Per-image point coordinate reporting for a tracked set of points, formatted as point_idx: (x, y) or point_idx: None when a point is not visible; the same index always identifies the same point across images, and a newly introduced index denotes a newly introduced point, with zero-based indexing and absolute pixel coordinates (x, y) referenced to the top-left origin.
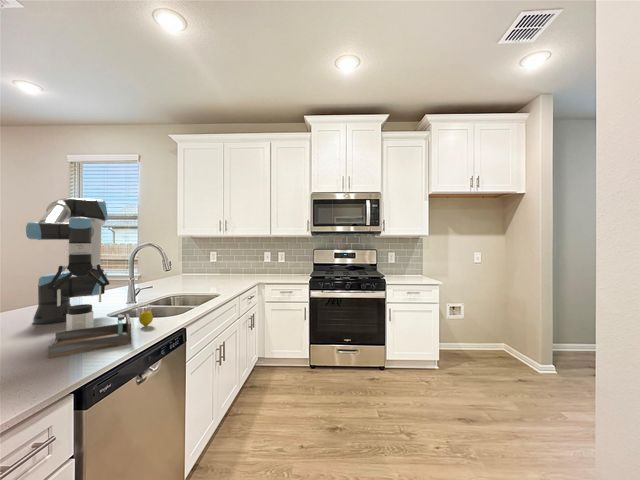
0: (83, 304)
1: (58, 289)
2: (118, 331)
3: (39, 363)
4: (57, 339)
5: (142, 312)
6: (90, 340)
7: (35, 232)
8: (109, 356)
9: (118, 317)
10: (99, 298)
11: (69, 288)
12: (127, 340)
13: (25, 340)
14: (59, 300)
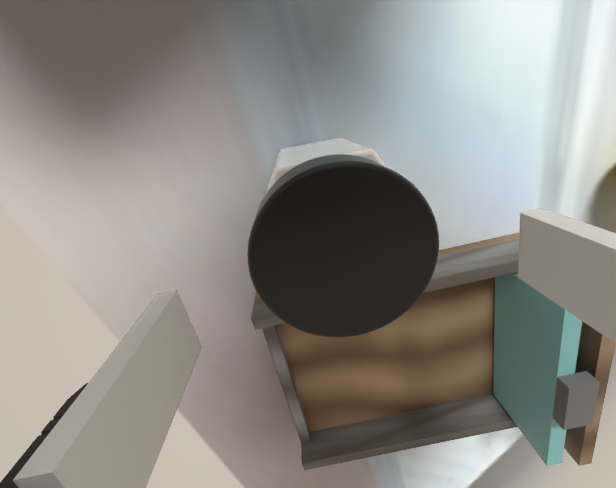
0: (351, 171)
1: (24, 484)
2: (515, 398)
3: (295, 456)
4: (274, 333)
5: None
6: (420, 445)
7: None
8: (461, 457)
9: (564, 427)
10: (554, 296)
11: None
12: None
13: (90, 210)
14: (182, 392)
